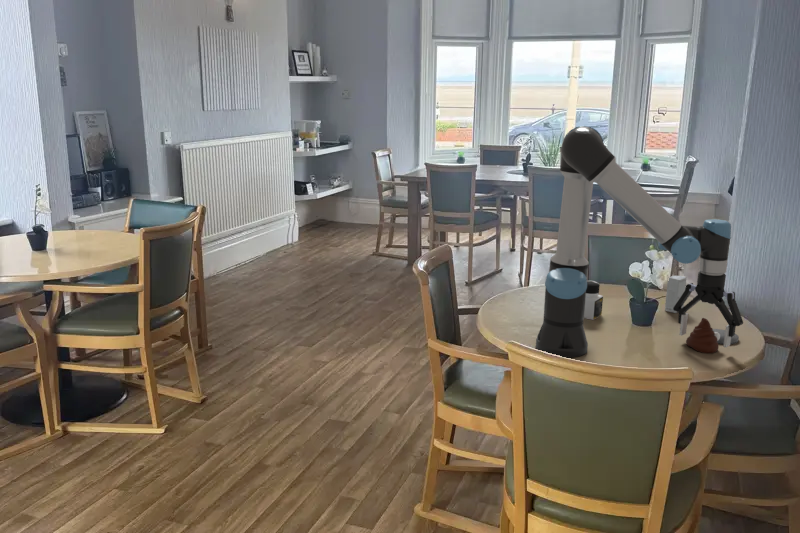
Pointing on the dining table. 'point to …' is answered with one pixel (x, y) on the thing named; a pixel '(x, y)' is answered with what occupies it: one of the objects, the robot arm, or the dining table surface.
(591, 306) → the medicine bottle
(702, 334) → the poop emoji
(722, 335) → the coaster
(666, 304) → the skincare box
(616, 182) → the robot arm
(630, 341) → the dining table surface
